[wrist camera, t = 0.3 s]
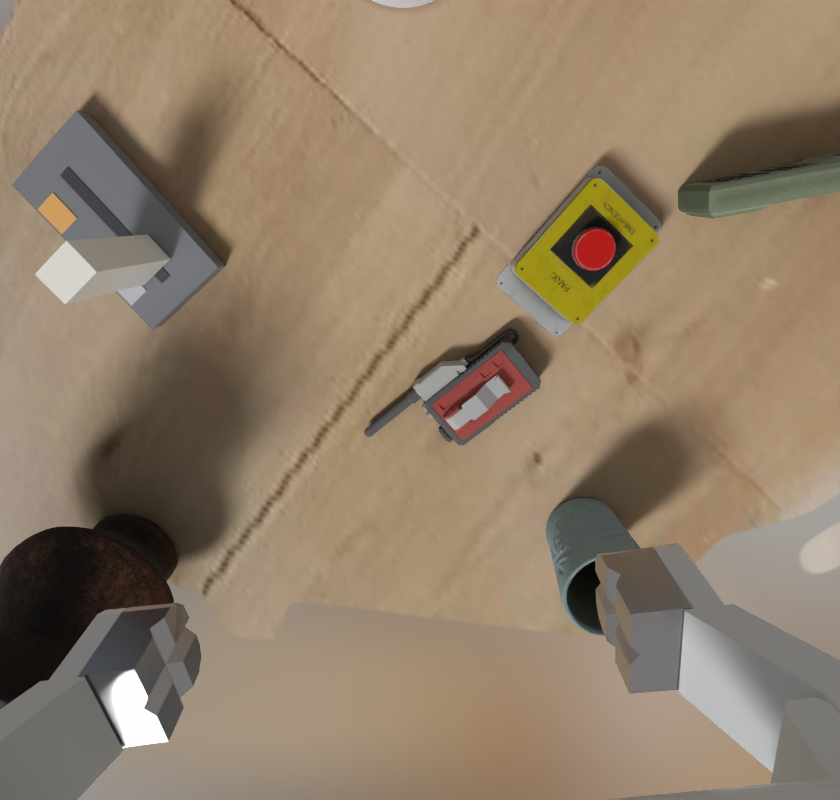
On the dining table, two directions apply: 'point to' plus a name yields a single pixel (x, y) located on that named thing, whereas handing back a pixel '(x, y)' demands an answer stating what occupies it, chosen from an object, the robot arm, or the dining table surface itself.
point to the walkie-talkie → (470, 390)
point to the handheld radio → (761, 187)
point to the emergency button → (581, 252)
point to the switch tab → (101, 266)
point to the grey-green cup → (583, 554)
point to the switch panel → (116, 212)
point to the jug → (74, 591)
